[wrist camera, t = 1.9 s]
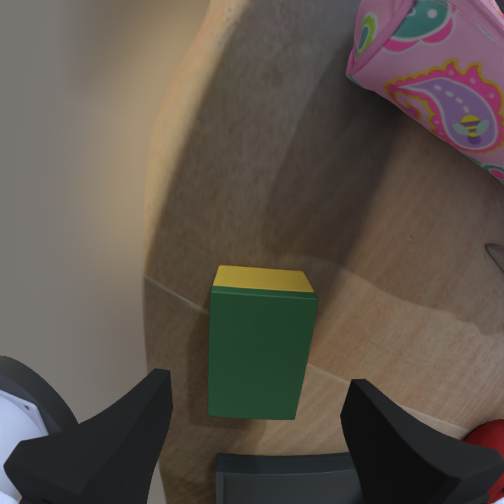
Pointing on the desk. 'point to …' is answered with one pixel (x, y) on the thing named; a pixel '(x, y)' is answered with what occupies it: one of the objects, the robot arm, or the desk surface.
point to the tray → (287, 479)
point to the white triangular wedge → (497, 254)
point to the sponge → (258, 342)
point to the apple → (496, 437)
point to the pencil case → (438, 69)
